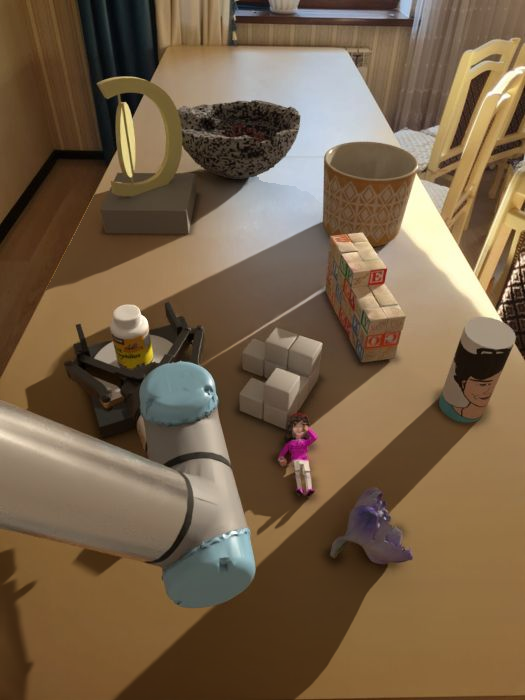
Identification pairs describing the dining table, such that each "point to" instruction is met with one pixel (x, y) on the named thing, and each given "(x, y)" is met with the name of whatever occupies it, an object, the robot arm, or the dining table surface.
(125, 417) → the kitchen scale
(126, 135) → the trophy
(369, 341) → the stack of blocks
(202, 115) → the bowl
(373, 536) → the flower
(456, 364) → the illustrated cylindrical canister
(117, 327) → the supplement bottle
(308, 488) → the character figurine
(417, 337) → the dining table surface
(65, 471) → the robot arm
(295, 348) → the white cube cluster
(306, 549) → the dining table surface
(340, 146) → the planter
